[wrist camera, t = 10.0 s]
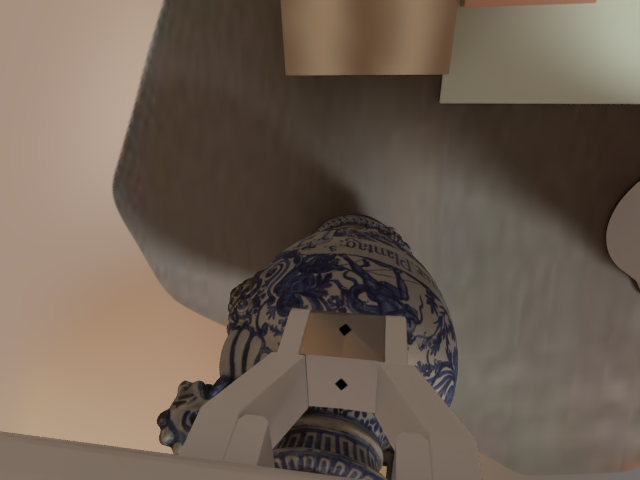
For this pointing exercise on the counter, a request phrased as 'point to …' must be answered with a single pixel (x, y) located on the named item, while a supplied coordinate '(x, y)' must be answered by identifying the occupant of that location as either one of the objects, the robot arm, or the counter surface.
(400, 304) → the decorative vase
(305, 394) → the robot arm
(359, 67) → the tan flat block
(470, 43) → the mat
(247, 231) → the counter surface
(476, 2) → the tile
